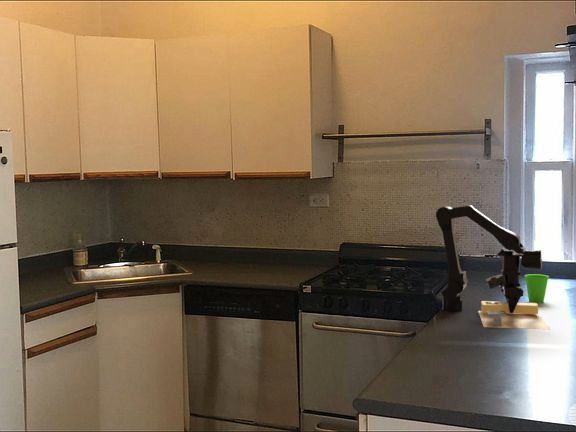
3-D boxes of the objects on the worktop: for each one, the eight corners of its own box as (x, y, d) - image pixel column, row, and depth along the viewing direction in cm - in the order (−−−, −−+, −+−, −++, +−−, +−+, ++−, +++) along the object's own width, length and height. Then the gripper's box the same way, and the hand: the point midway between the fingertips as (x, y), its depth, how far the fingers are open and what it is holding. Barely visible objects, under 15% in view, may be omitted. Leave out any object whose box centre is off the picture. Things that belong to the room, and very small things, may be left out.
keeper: (506, 326, 231) (507, 315, 230) (488, 326, 232) (488, 314, 231) (504, 321, 238) (504, 310, 237) (486, 321, 239) (486, 310, 238)
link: (535, 310, 251) (535, 302, 251) (538, 314, 244) (538, 306, 244) (481, 309, 254) (481, 300, 254) (482, 313, 248) (482, 304, 247)
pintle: (487, 314, 249) (488, 303, 249) (487, 312, 252) (487, 301, 252) (496, 314, 249) (496, 303, 248) (495, 312, 252) (495, 301, 251)
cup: (533, 307, 265) (533, 278, 264) (519, 302, 274) (519, 274, 273) (553, 305, 268) (554, 277, 267) (539, 301, 276) (539, 273, 276)
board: (483, 329, 231) (483, 326, 231) (478, 313, 255) (478, 310, 255) (550, 332, 227) (550, 329, 227) (537, 315, 251) (538, 312, 251)
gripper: (485, 264, 259) (484, 305, 260) (490, 272, 240) (489, 316, 241) (516, 264, 256) (516, 306, 258) (523, 272, 238) (523, 317, 239)
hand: (510, 311), depth 249 cm, fingers closed on link, 4 cm apart
